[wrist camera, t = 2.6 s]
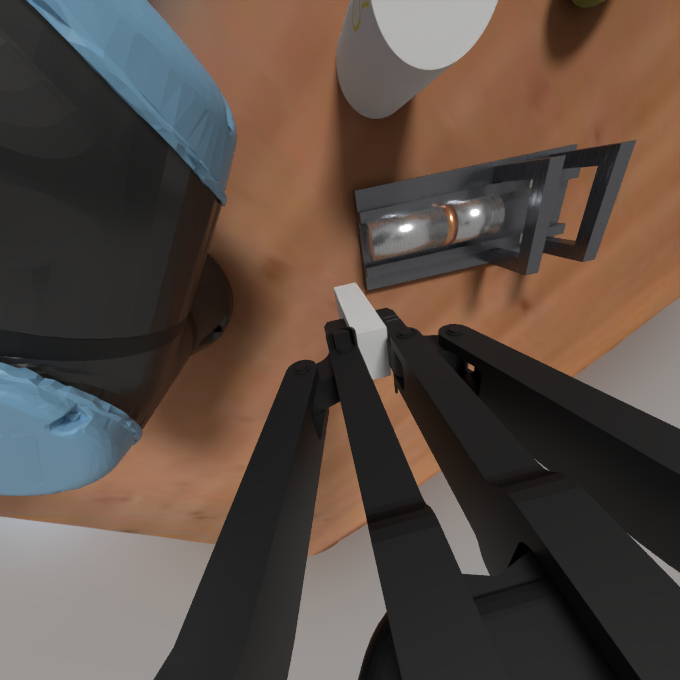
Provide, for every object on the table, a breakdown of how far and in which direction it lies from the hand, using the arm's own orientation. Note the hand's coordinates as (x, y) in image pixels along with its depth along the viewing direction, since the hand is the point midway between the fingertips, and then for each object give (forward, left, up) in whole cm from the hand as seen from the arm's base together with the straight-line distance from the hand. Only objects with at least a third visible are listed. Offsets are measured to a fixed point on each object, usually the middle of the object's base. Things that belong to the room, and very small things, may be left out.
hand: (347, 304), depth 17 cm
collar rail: (+18, 0, -18) cm, 25 cm away
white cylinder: (+9, +16, -18) cm, 26 cm away
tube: (+13, 0, -17) cm, 21 cm away
